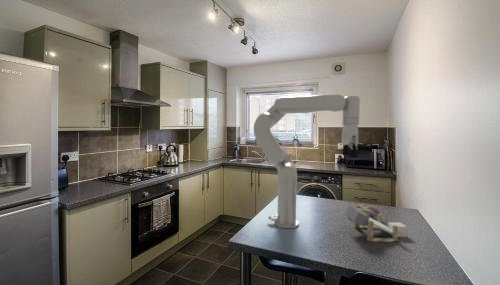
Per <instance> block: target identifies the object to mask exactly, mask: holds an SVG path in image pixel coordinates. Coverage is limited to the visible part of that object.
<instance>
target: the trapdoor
mask: <svg viewBox="0 0 500 285" xmlns="http://www.w3.org/2000/svg"><path fill="white" fill-rule="evenodd" d="M353 206H354V205H351V204H348V206H347V207H348V209H347V208H346V210H345V216H346V217H348V218H349V219H350V220H351V221H352V222H353V223H354V224H355V223H357V224H359V225H360V226H363V227H365V226H367V225H368V221H373V226H376V227H378V228H380V229H379V230H383V231H384V232H387V234H389V233H390V234H392V233H393V231H392V230H391V229H389V228H388V225H385V224H384V223H380V222H378V221H377V219H374V218H373V217H372V218H370V217H369V216H367V215H366V214H365V213H364V212H362V211H361V210H360V209H358V208H356V207H353ZM390 234H389V235H390Z"/></svg>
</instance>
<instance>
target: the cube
mask: <svg viewBox="0 0 500 285" xmlns="http://www.w3.org/2000/svg"><path fill="white" fill-rule="evenodd" d="M393 225H396V226H398V232H397V238H406V237H407V231H408V230H407V226H406V225H405V224H404V223H402V222H395V221H394V222H393V221H392V222H387V227H388V228H389V229H391V230H392V231H393ZM388 234H389V235H390V236H392V234H390V233H388Z"/></svg>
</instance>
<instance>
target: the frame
mask: <svg viewBox="0 0 500 285" xmlns="http://www.w3.org/2000/svg"><path fill="white" fill-rule="evenodd" d="M382 218H383V215H382V214H378V217H377V218H376V221H378V222H380V223H382ZM382 224H383V223H382ZM354 229H366V231H367V232H366V240H367V242H385V243H386V242H387V243H388V242H393V241H399V240H398V237H397V232H398V226H396V225H393V233H392V235H391V236H392V237H387V238H386V237H374V230H381V229H380V228H378V227H376V226H374V225H373V221H368V222H367V225H366V226H365V227H363V226H361V225H359V224H357V223H355V222H354Z"/></svg>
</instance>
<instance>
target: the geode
mask: <svg viewBox="0 0 500 285" xmlns="http://www.w3.org/2000/svg"><path fill="white" fill-rule="evenodd" d="M352 206H353V207H356V208H358V209H360V210H361V211H362V212H364V213H365V214H366V215H367V216H369V217H370V218H372V219H373V218H375V219H377V217H378V214H380V210H379V208H378V207H376V206H374V205H373V206H372V205H368V206H367V203H363V204H362V203H361V204H355V205H352ZM348 207H349V206H347V207H346V210H347V209H348Z"/></svg>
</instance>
